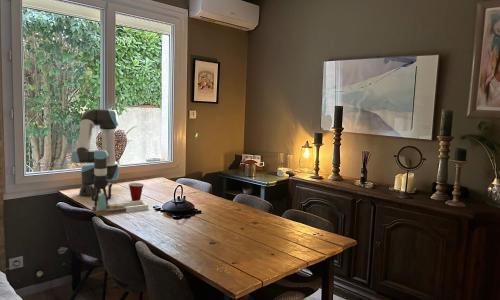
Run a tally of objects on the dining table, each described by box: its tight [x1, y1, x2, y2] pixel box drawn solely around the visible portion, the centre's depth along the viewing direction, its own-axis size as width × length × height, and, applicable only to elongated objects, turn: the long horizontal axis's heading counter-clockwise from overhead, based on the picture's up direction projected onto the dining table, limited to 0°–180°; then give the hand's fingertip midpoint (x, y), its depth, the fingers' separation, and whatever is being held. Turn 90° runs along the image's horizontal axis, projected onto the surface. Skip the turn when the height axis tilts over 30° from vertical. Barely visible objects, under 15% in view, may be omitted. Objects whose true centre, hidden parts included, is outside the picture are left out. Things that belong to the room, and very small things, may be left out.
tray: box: [121, 199, 149, 213], centre depth 255 cm, size 13×14×3 cm
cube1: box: [107, 203, 117, 210], centre depth 248 cm, size 4×4×4 cm
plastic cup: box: [128, 182, 145, 202], centre depth 275 cm, size 11×11×12 cm
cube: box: [115, 203, 125, 209], centre depth 249 cm, size 4×4×4 cm
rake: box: [97, 192, 107, 211], centre depth 243 cm, size 8×4×11 cm, turn 32°
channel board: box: [92, 202, 127, 217], centre depth 247 cm, size 13×18×2 cm
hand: (101, 210), depth 244 cm, fingers closed on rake, 4 cm apart
